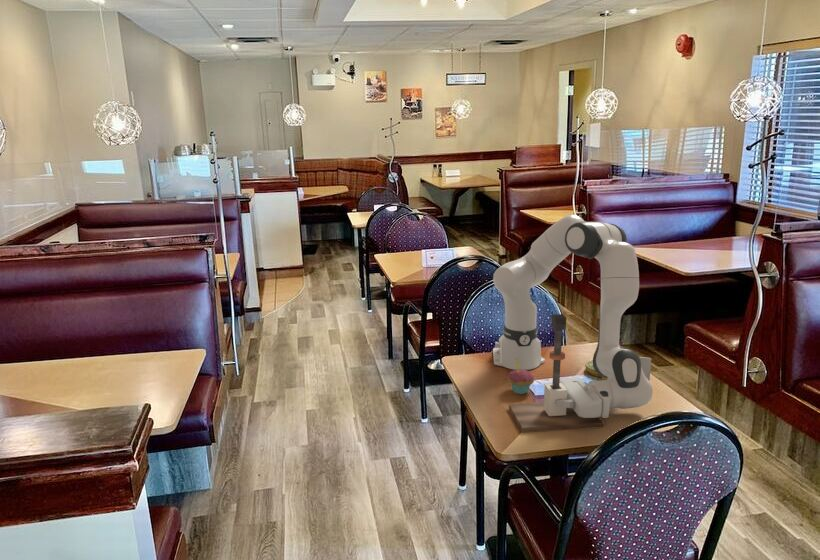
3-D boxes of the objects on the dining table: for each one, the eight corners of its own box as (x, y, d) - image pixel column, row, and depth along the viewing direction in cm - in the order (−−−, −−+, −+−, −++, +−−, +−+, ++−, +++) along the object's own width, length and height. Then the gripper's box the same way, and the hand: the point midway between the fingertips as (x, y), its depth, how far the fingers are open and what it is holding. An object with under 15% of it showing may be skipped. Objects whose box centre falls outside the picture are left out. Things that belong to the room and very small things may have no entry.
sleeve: (543, 408, 192) (544, 383, 190) (560, 407, 192) (561, 382, 190) (548, 416, 187) (550, 391, 185) (566, 415, 187) (567, 390, 185)
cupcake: (518, 398, 203) (519, 363, 200) (501, 389, 210) (502, 355, 207) (538, 392, 208) (540, 358, 204) (521, 383, 215) (522, 350, 212)
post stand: (509, 408, 196) (511, 310, 188) (584, 404, 199) (589, 306, 190) (522, 432, 182) (525, 326, 174) (602, 427, 184) (609, 322, 176)
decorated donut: (599, 364, 230) (600, 354, 229) (623, 374, 221) (624, 364, 220) (578, 370, 224) (579, 360, 223) (602, 381, 216) (603, 370, 215)
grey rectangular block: (648, 388, 209) (651, 360, 206) (627, 386, 211) (629, 358, 209) (648, 384, 212) (651, 356, 210) (627, 381, 215) (629, 354, 212)
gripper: (585, 371, 199) (542, 374, 198) (611, 400, 179) (564, 403, 178) (584, 390, 201) (541, 392, 199) (610, 420, 181) (563, 423, 180)
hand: (552, 398), depth 188 cm, fingers closed on sleeve, 5 cm apart
